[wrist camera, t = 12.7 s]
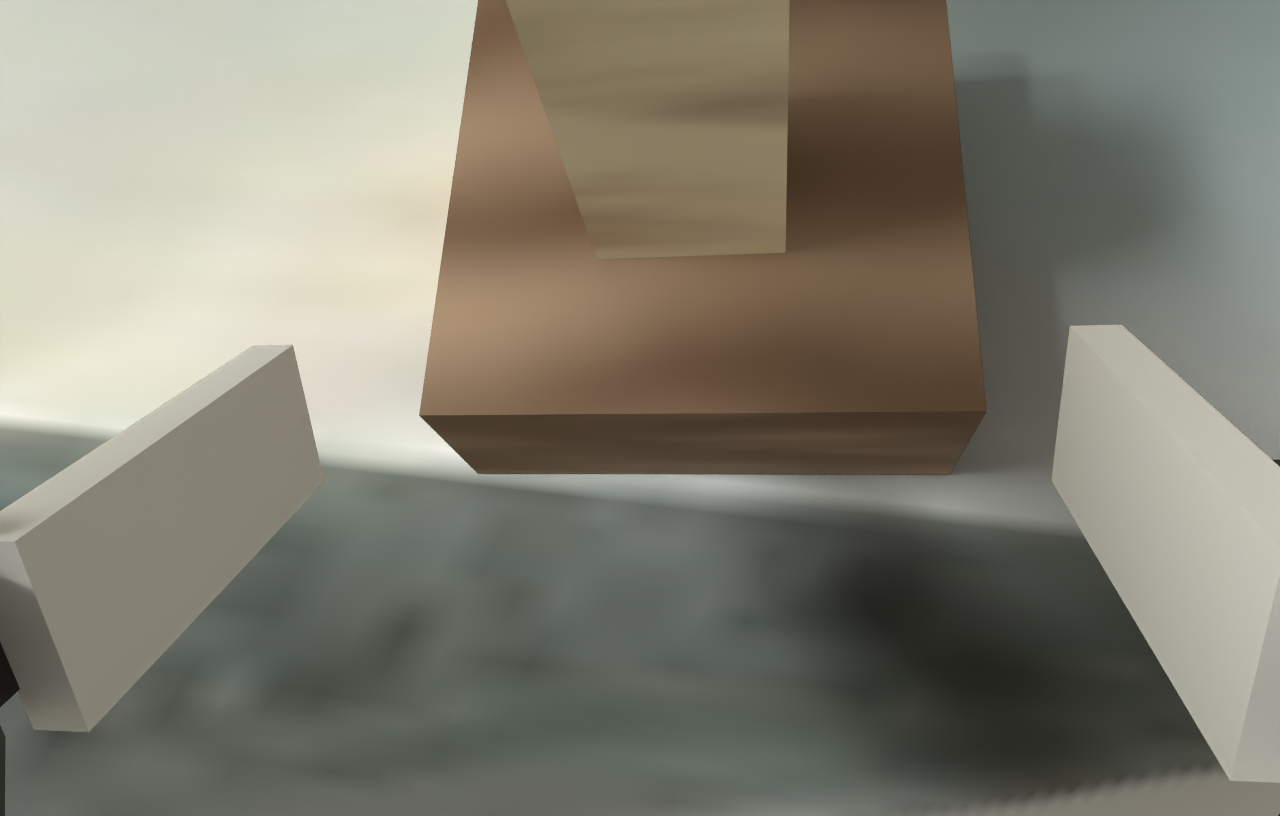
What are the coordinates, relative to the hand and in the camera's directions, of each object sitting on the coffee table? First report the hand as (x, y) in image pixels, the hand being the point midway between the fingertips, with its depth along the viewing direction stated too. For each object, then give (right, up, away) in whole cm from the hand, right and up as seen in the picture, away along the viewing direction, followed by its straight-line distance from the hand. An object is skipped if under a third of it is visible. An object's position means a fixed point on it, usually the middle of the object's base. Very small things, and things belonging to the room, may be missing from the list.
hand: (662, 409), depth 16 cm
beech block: (+1, +6, +10) cm, 11 cm away
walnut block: (+2, +5, +14) cm, 15 cm away
